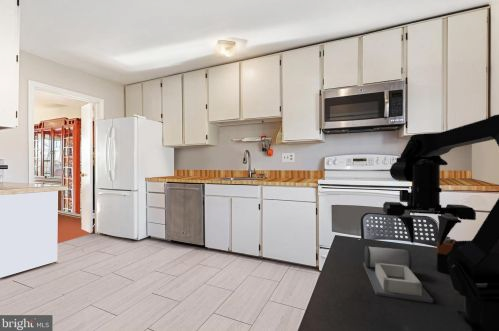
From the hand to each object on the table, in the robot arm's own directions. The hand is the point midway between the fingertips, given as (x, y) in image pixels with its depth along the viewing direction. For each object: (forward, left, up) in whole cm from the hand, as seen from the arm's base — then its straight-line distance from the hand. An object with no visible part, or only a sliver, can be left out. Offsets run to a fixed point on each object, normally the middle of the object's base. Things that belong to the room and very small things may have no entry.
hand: (425, 243), depth 64 cm
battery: (+16, -11, -12) cm, 23 cm away
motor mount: (+3, +7, -12) cm, 14 cm away
